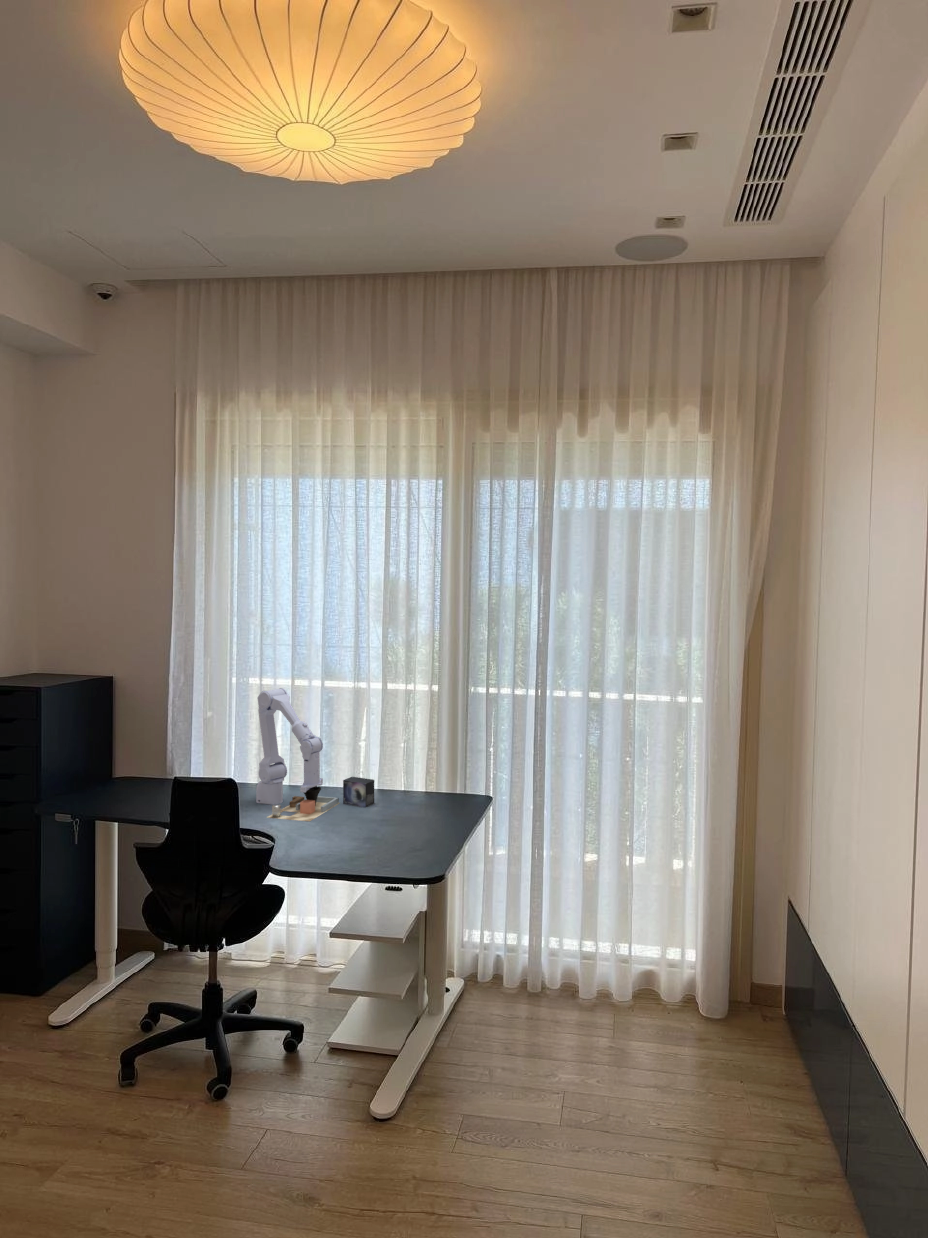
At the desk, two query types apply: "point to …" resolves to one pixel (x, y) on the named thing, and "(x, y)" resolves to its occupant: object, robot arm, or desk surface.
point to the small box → (358, 791)
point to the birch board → (302, 816)
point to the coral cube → (307, 806)
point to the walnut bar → (296, 801)
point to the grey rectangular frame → (328, 800)
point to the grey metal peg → (276, 811)
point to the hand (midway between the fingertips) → (311, 807)
